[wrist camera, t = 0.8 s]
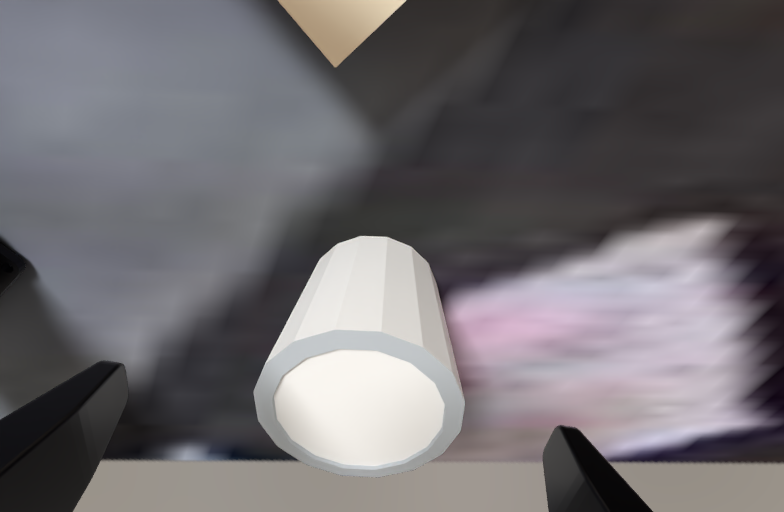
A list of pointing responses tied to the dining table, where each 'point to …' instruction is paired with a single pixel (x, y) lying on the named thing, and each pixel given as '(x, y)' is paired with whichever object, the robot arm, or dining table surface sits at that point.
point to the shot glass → (364, 365)
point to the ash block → (339, 22)
